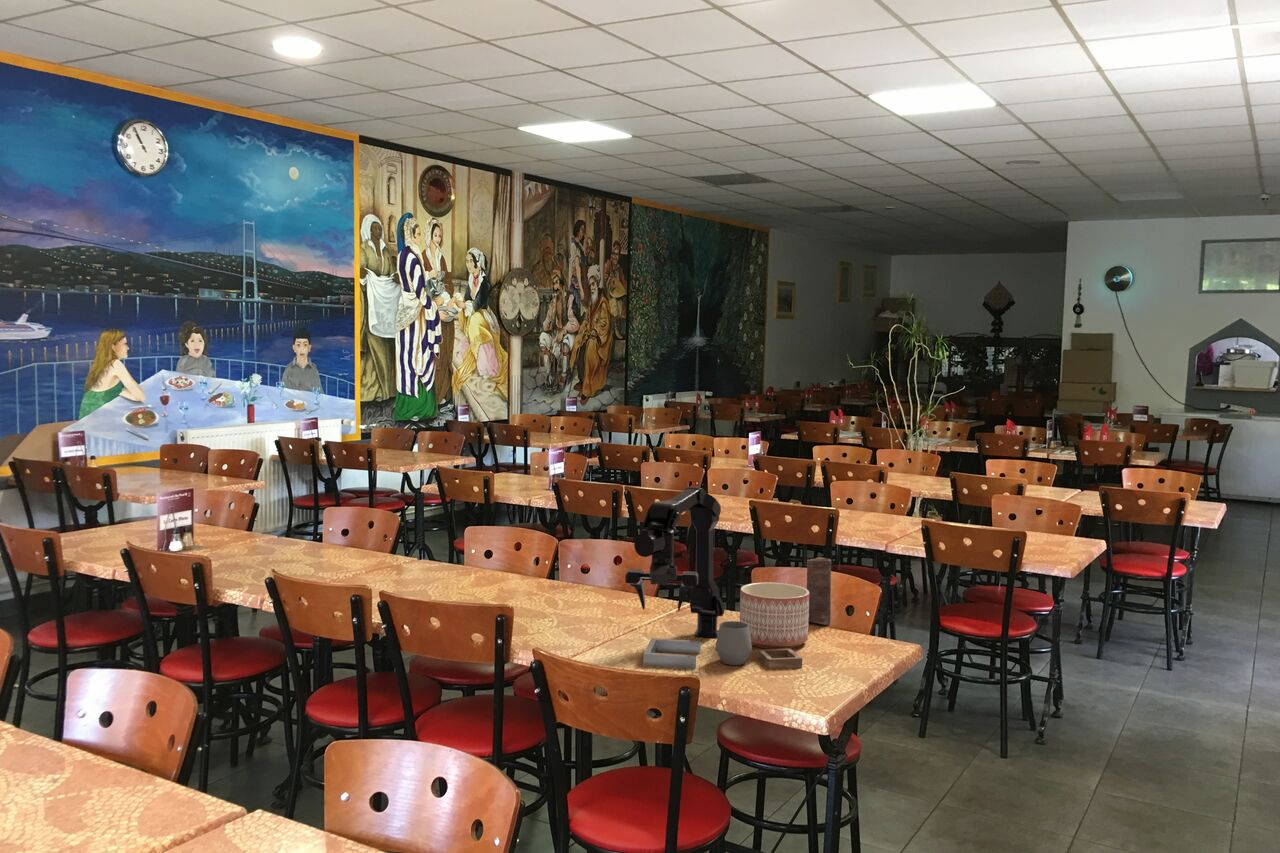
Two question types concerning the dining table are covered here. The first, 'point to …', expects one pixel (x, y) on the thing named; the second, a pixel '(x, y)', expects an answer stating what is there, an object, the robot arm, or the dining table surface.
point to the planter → (775, 614)
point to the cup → (733, 642)
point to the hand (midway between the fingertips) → (661, 609)
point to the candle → (819, 590)
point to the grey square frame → (671, 659)
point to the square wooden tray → (779, 658)
